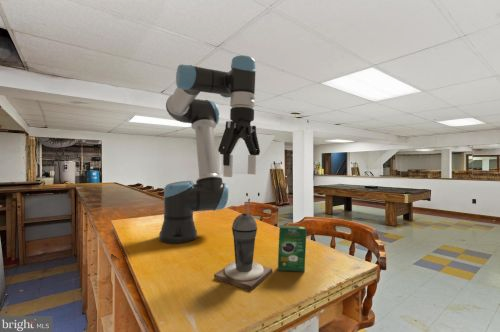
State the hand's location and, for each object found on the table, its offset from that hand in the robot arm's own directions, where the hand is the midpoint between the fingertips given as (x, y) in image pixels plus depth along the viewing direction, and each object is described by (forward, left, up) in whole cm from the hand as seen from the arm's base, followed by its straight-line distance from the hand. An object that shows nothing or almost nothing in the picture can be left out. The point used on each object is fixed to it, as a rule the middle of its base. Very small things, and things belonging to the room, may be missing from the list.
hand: (240, 175), depth 79 cm
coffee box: (+16, +4, -28) cm, 33 cm away
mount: (+6, -7, -28) cm, 29 cm away
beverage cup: (+6, -7, -26) cm, 28 cm away
